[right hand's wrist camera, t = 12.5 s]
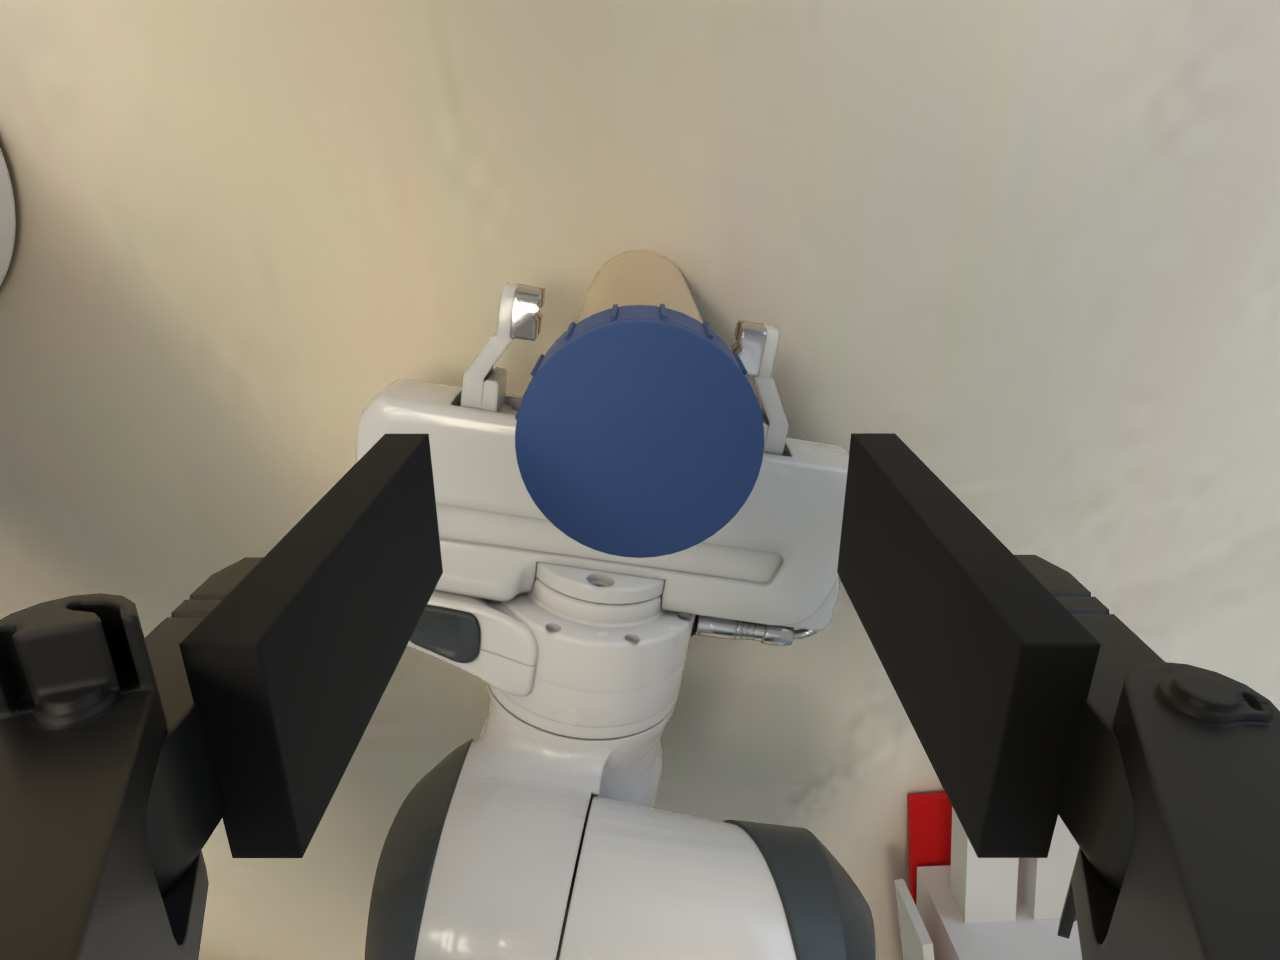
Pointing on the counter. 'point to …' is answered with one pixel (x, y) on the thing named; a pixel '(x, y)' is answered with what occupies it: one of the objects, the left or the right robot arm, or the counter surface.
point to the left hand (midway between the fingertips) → (642, 305)
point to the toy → (980, 894)
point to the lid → (639, 432)
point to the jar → (639, 285)
